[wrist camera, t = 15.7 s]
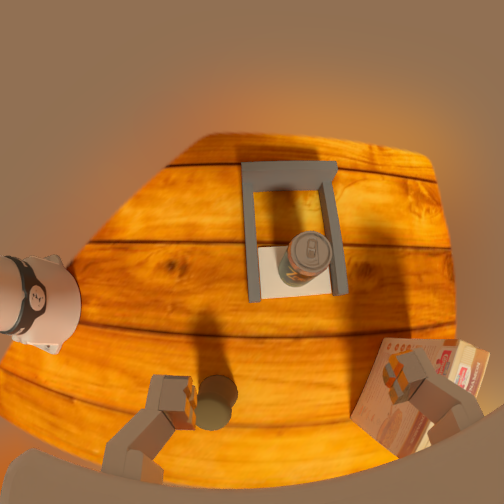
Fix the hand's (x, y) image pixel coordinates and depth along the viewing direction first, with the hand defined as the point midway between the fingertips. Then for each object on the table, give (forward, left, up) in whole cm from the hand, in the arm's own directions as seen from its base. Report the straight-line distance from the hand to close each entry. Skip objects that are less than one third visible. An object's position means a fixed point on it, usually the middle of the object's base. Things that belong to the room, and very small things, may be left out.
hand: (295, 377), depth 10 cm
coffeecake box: (+20, -11, -32) cm, 39 cm away
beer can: (+6, +10, -31) cm, 33 cm away
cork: (-7, -9, -32) cm, 33 cm away
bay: (+6, +15, -31) cm, 35 cm away
